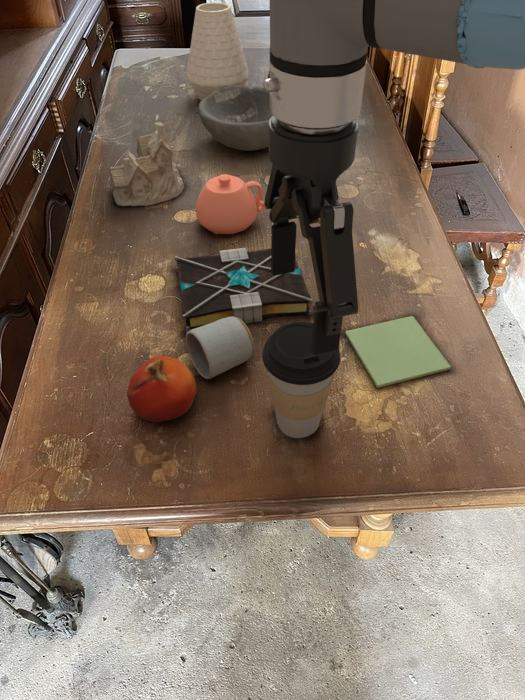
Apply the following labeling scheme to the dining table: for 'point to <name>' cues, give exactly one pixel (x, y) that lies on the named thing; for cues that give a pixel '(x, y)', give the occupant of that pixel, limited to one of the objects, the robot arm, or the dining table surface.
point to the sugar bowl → (228, 204)
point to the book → (238, 288)
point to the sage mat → (396, 351)
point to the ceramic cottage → (147, 172)
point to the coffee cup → (298, 378)
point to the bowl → (238, 117)
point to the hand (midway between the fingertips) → (302, 308)
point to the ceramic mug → (219, 346)
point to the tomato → (161, 389)
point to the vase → (215, 51)
